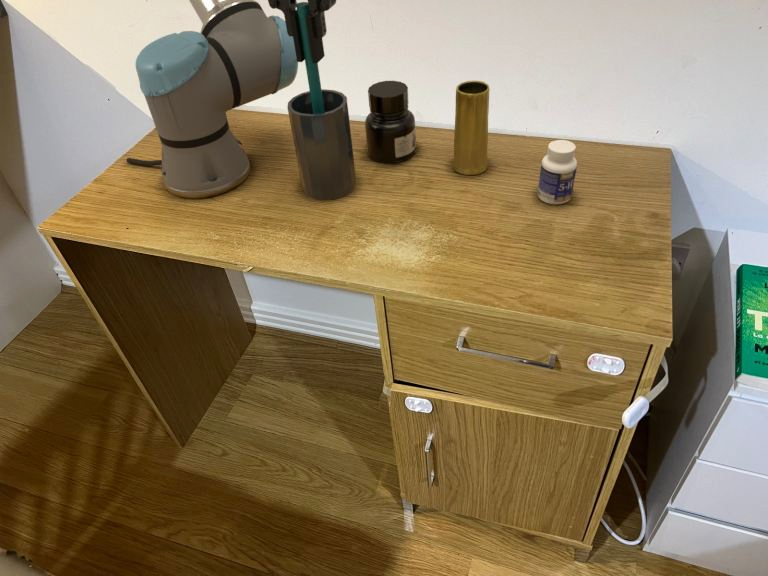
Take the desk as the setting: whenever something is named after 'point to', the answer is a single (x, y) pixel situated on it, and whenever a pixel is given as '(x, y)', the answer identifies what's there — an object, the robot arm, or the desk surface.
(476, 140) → the vase
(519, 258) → the desk surface
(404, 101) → the ink bottle
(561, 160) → the pill bottle
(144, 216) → the desk surface
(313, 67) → the brush
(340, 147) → the grey pvc pipe
